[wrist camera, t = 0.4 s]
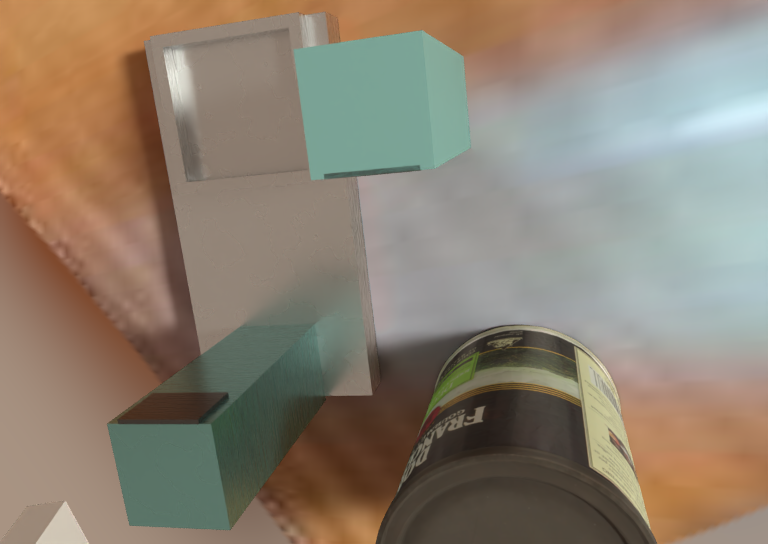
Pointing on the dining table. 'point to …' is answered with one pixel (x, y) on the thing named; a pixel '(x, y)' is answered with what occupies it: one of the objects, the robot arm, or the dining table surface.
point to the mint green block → (382, 105)
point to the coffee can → (520, 450)
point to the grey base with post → (246, 276)
